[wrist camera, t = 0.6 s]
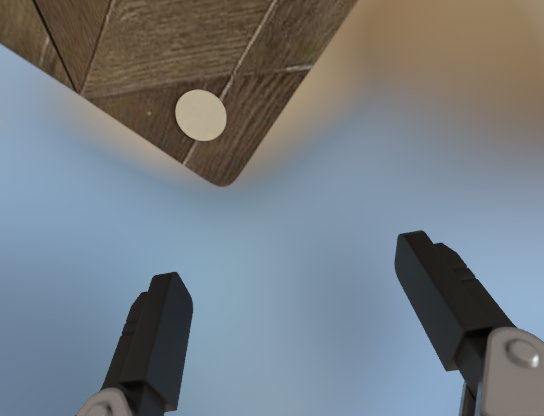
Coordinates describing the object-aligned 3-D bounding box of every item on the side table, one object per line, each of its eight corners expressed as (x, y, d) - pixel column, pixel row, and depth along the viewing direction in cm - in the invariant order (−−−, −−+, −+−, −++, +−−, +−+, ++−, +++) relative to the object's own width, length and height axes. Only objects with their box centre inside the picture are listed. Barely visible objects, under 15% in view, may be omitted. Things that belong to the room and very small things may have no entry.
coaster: (170, 90, 34) (169, 91, 33) (222, 87, 33) (222, 88, 33) (182, 141, 37) (181, 142, 36) (229, 138, 37) (229, 139, 36)
